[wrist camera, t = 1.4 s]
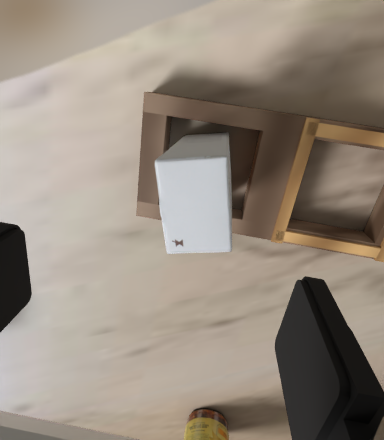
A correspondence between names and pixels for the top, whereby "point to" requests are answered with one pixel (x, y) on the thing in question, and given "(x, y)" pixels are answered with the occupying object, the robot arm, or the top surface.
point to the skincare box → (196, 194)
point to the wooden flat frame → (265, 170)
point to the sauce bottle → (206, 426)
